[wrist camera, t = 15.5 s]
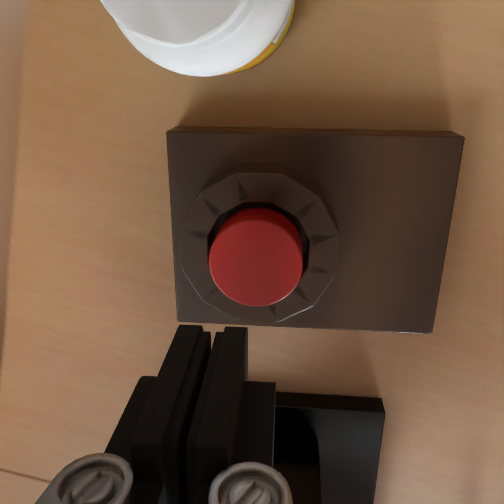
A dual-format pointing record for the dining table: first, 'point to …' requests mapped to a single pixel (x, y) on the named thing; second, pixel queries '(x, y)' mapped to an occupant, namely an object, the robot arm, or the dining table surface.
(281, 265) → the button
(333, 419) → the bracket
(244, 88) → the dining table surface
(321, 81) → the dining table surface
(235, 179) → the button block
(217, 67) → the supplement bottle
